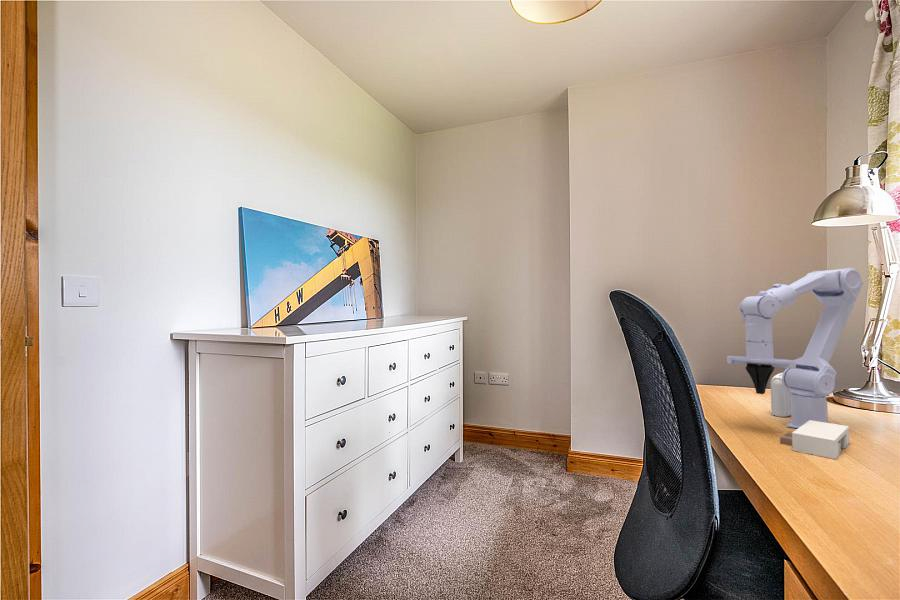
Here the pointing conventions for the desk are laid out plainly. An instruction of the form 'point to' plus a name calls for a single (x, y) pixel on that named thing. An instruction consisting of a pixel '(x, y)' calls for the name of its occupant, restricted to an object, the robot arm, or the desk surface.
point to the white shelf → (820, 439)
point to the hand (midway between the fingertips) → (760, 393)
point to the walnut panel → (786, 438)
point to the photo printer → (780, 397)
